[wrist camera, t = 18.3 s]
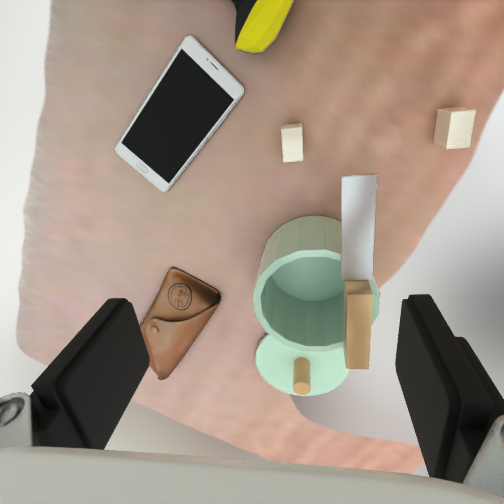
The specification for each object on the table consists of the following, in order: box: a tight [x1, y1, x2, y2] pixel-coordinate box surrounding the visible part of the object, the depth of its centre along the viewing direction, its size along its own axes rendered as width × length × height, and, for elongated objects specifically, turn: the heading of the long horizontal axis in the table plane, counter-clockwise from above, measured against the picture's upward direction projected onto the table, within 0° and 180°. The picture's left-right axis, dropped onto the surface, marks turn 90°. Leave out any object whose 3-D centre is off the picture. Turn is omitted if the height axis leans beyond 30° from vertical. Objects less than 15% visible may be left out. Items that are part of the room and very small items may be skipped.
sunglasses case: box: [140, 268, 221, 380], centre depth 48 cm, size 18×7×7 cm
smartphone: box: [115, 35, 244, 192], centre depth 36 cm, size 8×1×15 cm
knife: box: [341, 173, 377, 369], centre depth 30 cm, size 3×19×3 cm, turn 7°
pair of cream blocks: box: [281, 107, 476, 162], centre depth 33 cm, size 17×3×4 cm, turn 97°
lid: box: [256, 334, 350, 396], centre depth 47 cm, size 14×14×6 cm
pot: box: [253, 216, 380, 352], centre depth 38 cm, size 13×13×9 cm
